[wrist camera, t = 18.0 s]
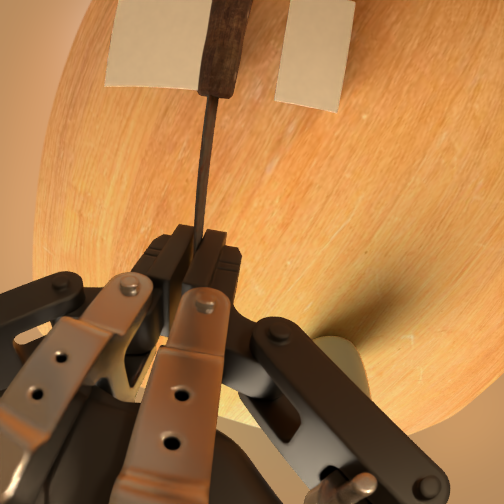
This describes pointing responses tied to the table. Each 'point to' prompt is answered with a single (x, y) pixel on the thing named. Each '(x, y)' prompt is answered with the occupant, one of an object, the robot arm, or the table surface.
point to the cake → (157, 43)
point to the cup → (345, 359)
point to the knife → (217, 84)
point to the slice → (315, 53)
